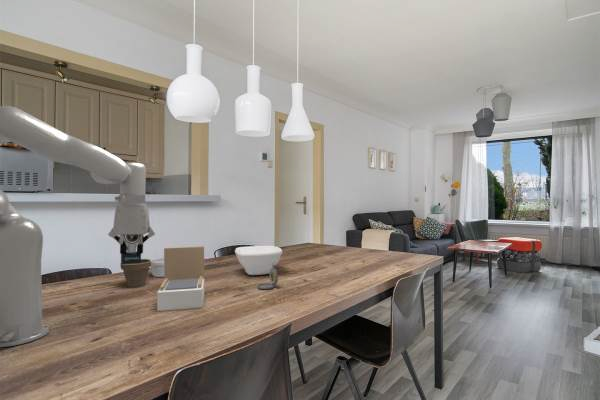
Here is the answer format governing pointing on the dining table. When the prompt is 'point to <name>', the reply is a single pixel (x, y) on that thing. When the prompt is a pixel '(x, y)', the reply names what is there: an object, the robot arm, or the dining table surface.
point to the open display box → (182, 279)
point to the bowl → (258, 258)
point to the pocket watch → (273, 280)
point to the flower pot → (136, 272)
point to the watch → (131, 249)
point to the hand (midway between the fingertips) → (131, 255)
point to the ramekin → (157, 267)
